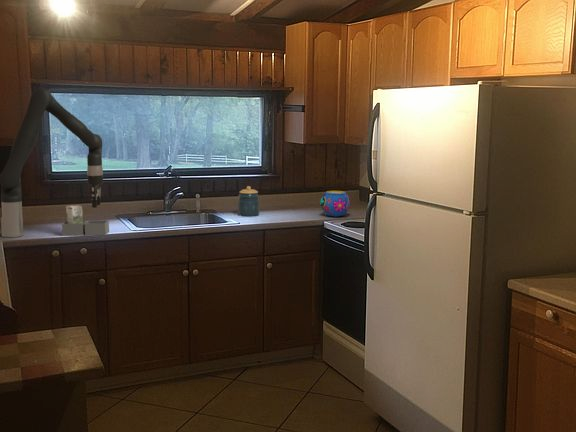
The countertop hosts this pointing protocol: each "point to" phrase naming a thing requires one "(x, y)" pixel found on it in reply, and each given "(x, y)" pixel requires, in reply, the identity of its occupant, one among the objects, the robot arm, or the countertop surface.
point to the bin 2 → (96, 227)
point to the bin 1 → (73, 229)
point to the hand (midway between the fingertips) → (96, 206)
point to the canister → (248, 202)
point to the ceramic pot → (335, 203)
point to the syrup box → (74, 214)
